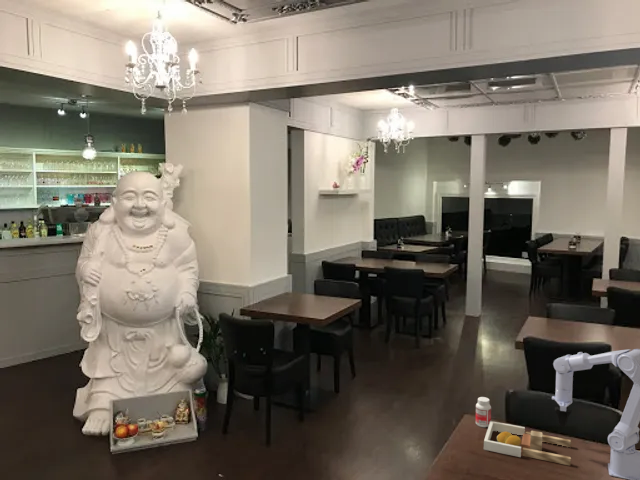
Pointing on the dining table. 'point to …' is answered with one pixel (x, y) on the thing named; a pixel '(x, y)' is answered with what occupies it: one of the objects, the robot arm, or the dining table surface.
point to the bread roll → (509, 439)
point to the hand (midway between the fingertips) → (562, 421)
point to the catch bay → (503, 447)
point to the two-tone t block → (532, 441)
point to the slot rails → (549, 456)
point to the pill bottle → (483, 412)
